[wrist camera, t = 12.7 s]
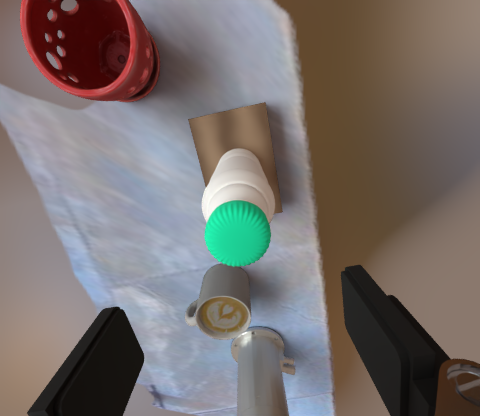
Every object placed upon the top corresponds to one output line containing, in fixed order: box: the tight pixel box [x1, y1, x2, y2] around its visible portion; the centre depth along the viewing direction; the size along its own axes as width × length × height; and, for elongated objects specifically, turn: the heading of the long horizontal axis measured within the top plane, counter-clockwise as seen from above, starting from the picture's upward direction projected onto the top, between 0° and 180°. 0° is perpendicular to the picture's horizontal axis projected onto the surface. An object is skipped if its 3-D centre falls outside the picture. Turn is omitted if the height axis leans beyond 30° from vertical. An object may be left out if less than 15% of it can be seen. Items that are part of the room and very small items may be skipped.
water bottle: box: [202, 148, 275, 267], centre depth 28 cm, size 7×7×25 cm
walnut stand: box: [188, 102, 283, 214], centre depth 42 cm, size 12×18×4 cm, turn 12°
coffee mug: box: [185, 263, 251, 340], centre depth 48 cm, size 13×10×10 cm
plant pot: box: [20, 0, 160, 102], centre depth 33 cm, size 13×13×12 cm
